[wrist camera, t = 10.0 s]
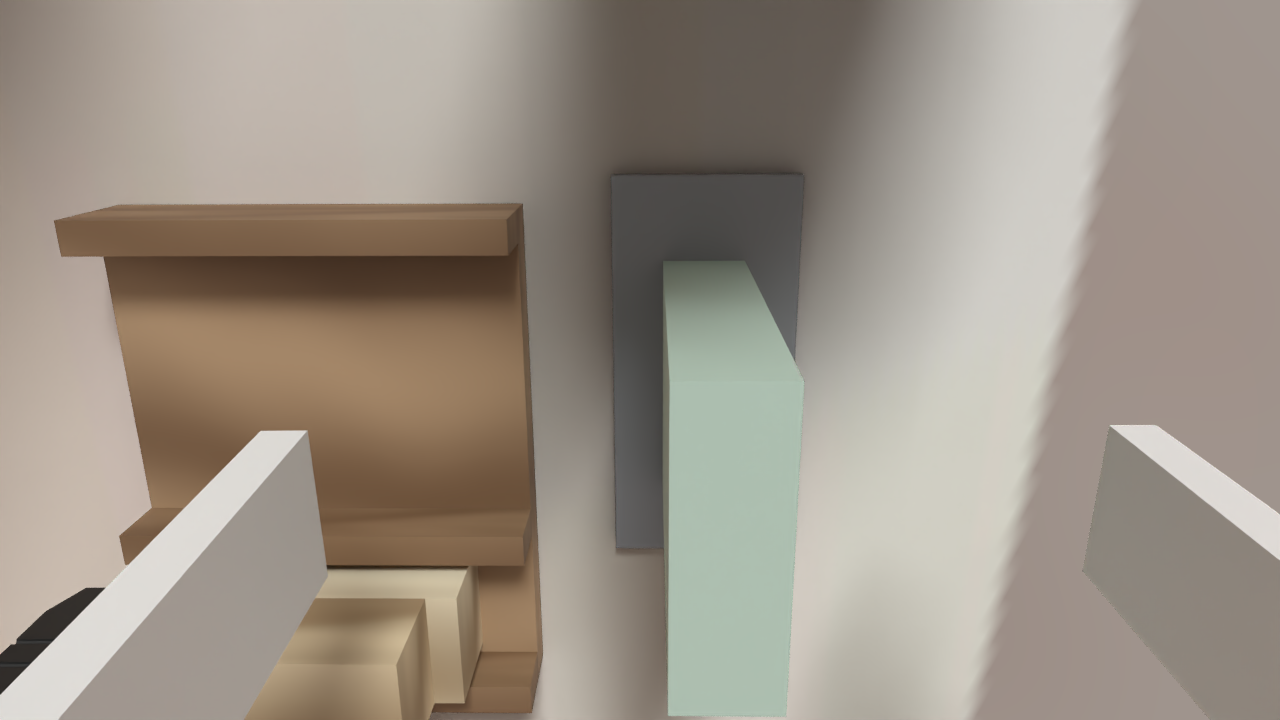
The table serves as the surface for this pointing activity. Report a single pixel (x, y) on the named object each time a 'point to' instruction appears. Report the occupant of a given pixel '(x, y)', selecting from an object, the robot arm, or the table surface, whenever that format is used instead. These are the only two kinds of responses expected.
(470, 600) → the block
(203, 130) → the table surface
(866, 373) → the table surface
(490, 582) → the rack
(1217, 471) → the robot arm
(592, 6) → the table surface
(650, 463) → the mat
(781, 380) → the sheet
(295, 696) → the offcut top
